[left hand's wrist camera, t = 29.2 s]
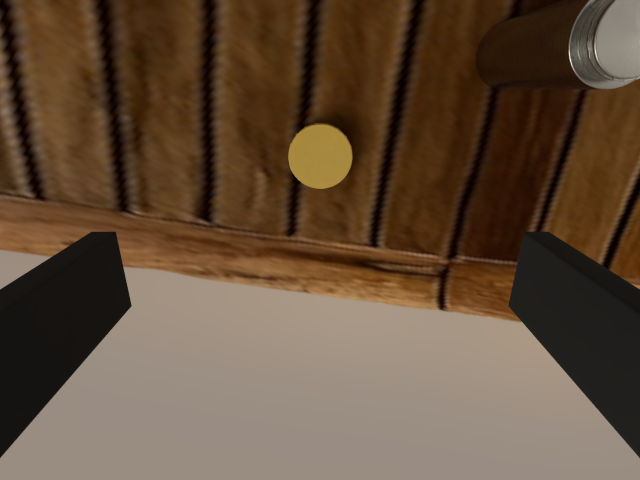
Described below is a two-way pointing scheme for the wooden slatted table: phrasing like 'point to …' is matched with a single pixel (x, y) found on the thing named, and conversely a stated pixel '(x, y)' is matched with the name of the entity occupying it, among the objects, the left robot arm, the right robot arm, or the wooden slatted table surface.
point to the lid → (320, 155)
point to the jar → (564, 47)
